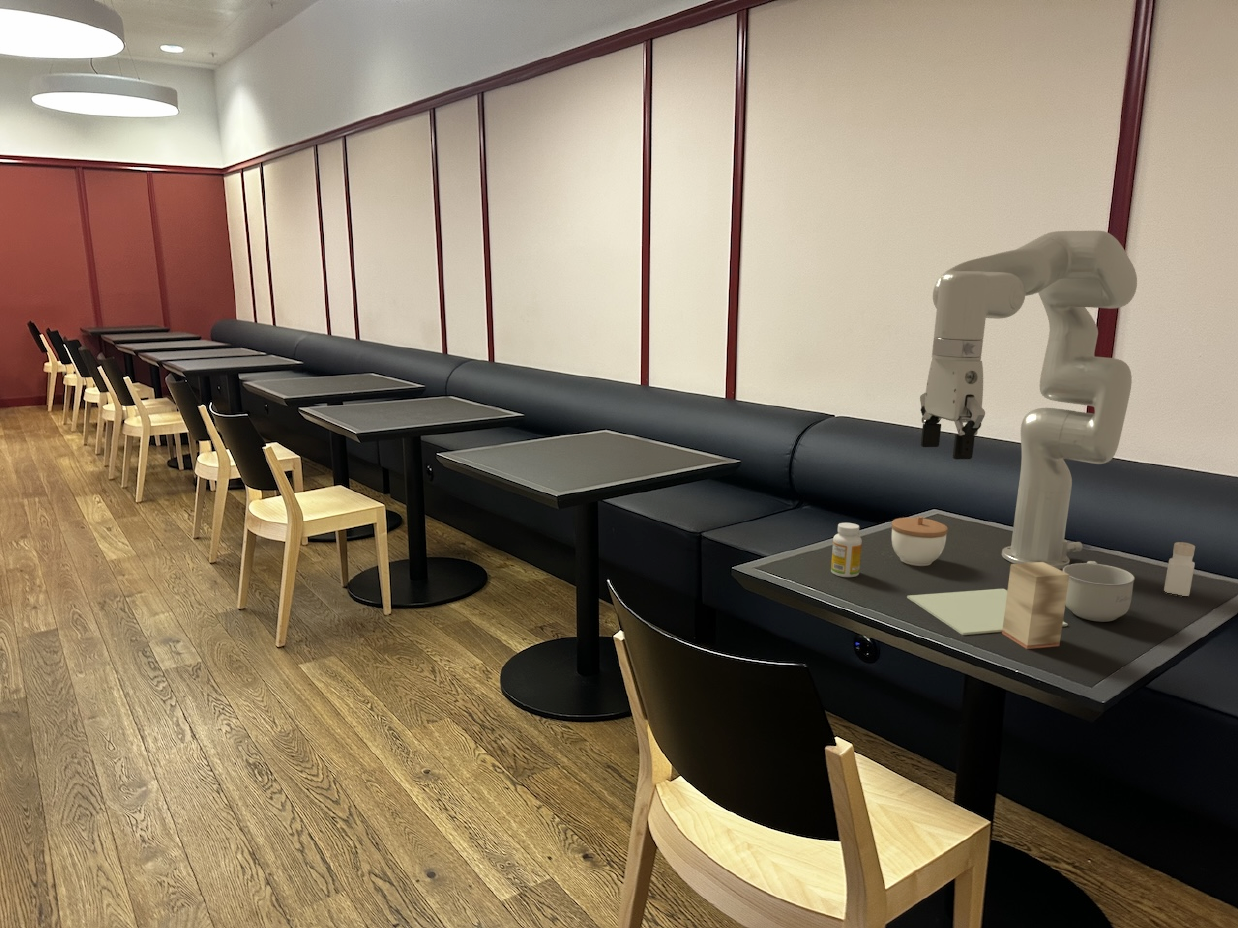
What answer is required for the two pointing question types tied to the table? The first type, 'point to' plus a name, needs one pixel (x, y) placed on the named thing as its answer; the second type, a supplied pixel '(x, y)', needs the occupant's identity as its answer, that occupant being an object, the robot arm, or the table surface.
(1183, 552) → the pepper shaker
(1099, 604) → the teacup
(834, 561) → the supplement bottle
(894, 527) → the lidded jar
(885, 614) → the table surface
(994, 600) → the sage mat
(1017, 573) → the maple block
